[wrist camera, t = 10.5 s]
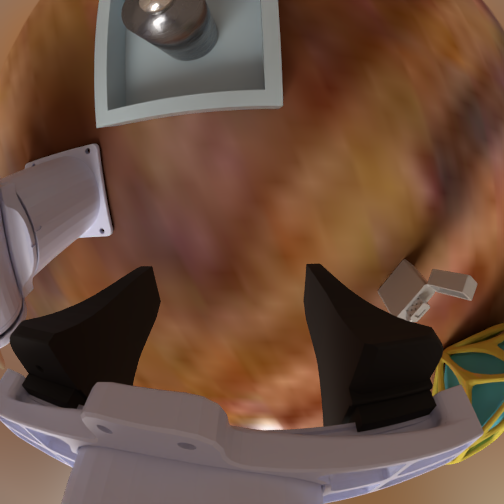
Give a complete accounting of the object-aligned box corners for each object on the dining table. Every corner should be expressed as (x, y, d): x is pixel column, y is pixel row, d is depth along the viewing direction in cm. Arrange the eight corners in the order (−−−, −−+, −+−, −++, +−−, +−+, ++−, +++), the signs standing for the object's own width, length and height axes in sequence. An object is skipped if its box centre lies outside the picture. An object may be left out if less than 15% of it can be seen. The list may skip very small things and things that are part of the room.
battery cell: (162, 64, 15) (113, 41, 8) (163, 18, 13) (120, -21, 7) (218, 58, 15) (196, 24, 8) (218, 11, 13) (199, -39, 6)
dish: (119, 125, 18) (96, 128, 15) (121, -2, 12) (101, -16, 9) (278, 108, 17) (283, 105, 14) (271, -26, 12) (273, -48, 9)
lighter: (387, 298, 24) (420, 356, 17) (376, 291, 24) (409, 351, 17) (432, 241, 21) (482, 288, 14) (422, 232, 21) (474, 279, 14)
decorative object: (417, 394, 39) (463, 441, 27) (355, 432, 25) (423, 509, 14) (491, 287, 32) (547, 333, 21) (482, 264, 19) (580, 344, 8)
